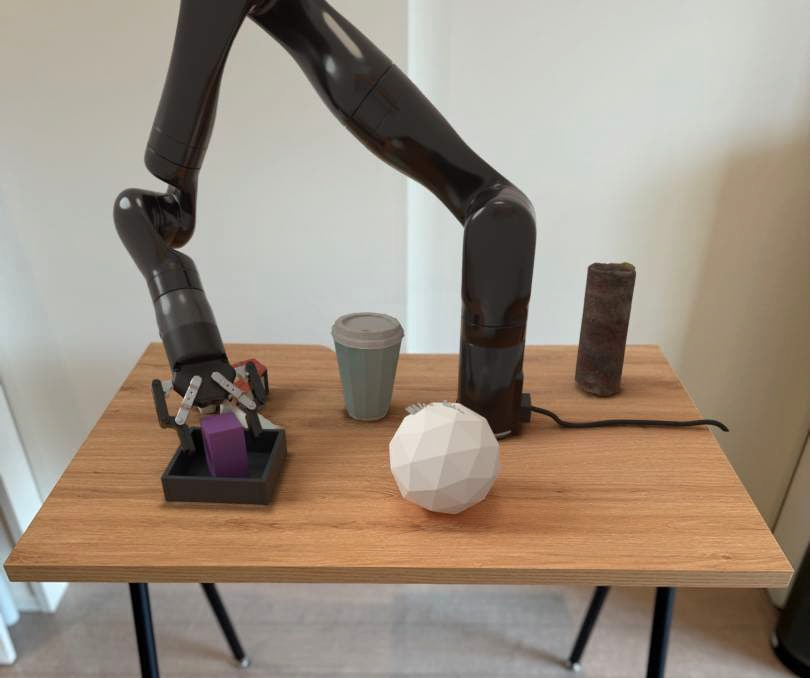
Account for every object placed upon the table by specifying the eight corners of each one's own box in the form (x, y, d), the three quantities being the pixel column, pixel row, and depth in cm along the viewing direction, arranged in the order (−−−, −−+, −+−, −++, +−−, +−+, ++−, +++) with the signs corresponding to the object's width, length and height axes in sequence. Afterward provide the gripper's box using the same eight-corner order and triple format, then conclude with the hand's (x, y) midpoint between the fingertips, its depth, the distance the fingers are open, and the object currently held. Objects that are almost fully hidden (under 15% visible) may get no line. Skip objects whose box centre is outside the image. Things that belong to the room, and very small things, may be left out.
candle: (565, 390, 130) (582, 267, 118) (580, 373, 135) (597, 253, 123) (611, 401, 127) (633, 275, 115) (625, 383, 132) (647, 261, 120)
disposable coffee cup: (338, 395, 128) (333, 304, 119) (405, 396, 128) (406, 305, 119) (331, 428, 120) (325, 332, 111) (403, 429, 120) (403, 334, 110)
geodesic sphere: (347, 485, 96) (419, 407, 88) (371, 428, 108) (437, 353, 100) (442, 555, 100) (520, 486, 92) (456, 493, 112) (526, 426, 103)
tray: (287, 455, 113) (285, 429, 111) (268, 510, 103) (265, 481, 100) (195, 452, 114) (190, 426, 112) (166, 505, 103) (160, 478, 101)
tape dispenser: (279, 462, 115) (306, 390, 130) (277, 431, 111) (305, 361, 126) (159, 450, 116) (200, 381, 131) (153, 419, 112) (195, 351, 127)
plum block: (208, 470, 109) (199, 418, 104) (240, 463, 110) (232, 411, 106) (217, 487, 106) (208, 434, 101) (250, 478, 107) (243, 426, 102)
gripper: (135, 329, 100) (172, 451, 99) (245, 311, 105) (281, 426, 104) (135, 353, 107) (170, 467, 106) (238, 335, 112) (272, 443, 111)
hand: (225, 447), depth 105 cm, fingers open, 8 cm apart
